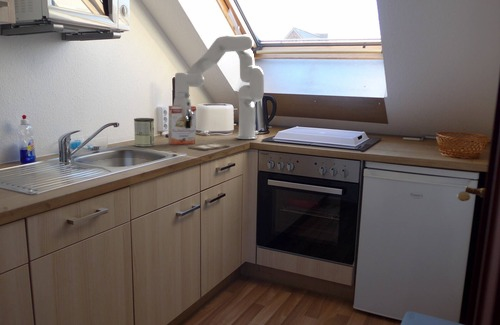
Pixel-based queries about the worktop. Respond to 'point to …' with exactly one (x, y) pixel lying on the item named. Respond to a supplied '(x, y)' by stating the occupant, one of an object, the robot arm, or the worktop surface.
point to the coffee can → (144, 131)
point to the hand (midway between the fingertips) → (181, 127)
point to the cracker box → (181, 127)
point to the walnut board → (208, 147)
